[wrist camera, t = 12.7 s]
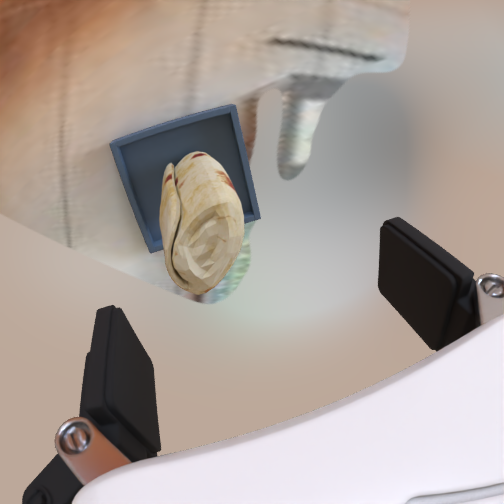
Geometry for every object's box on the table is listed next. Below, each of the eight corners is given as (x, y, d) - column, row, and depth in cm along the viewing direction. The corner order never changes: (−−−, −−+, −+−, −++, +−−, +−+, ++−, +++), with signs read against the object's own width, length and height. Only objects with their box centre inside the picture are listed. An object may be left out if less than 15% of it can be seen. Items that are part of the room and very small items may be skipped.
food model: (197, 219, 43) (225, 314, 27) (150, 205, 41) (145, 298, 24) (224, 151, 40) (274, 207, 23) (174, 134, 37) (184, 177, 20)
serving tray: (150, 246, 44) (150, 253, 42) (111, 140, 36) (109, 143, 34) (256, 212, 46) (261, 218, 44) (232, 103, 38) (235, 104, 36)
